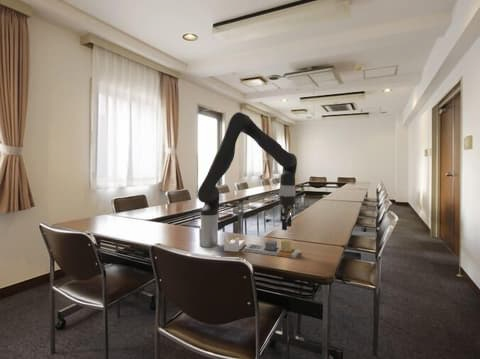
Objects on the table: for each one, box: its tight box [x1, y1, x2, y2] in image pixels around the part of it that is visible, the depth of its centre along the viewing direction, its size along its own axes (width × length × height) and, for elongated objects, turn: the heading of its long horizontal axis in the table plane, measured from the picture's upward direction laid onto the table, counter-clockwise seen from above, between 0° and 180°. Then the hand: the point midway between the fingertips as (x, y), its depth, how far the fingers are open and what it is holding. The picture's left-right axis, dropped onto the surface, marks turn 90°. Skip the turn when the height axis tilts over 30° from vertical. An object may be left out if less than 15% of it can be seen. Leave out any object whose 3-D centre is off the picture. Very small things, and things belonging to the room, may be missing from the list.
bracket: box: [223, 236, 246, 253], centre depth 144 cm, size 13×7×8 cm, turn 164°
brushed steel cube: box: [264, 240, 278, 252], centre depth 136 cm, size 4×4×5 cm
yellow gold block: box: [280, 238, 294, 253], centre depth 132 cm, size 4×4×6 cm
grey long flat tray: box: [243, 243, 300, 259], centre depth 136 cm, size 26×9×3 cm, turn 65°
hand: (286, 228), depth 132 cm, fingers open, 8 cm apart
